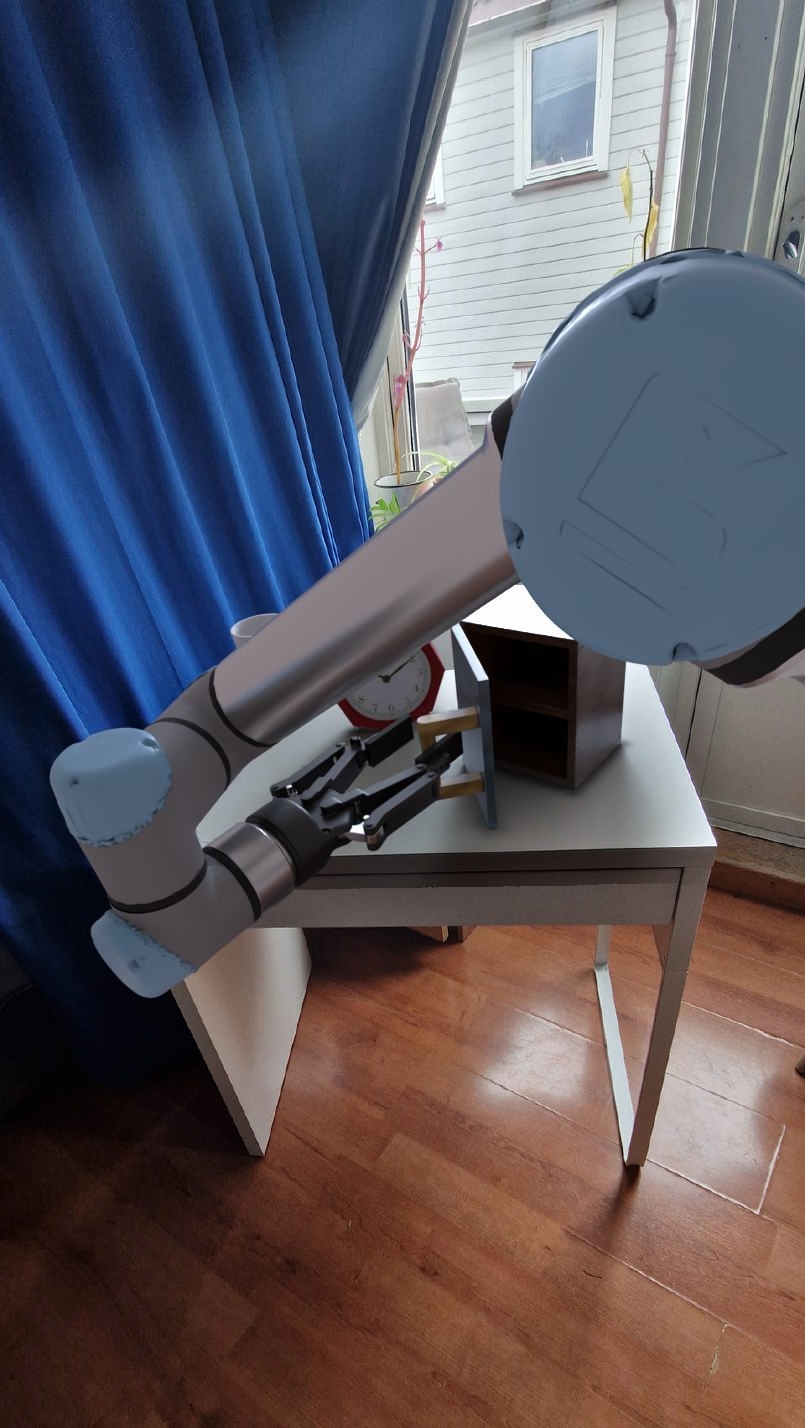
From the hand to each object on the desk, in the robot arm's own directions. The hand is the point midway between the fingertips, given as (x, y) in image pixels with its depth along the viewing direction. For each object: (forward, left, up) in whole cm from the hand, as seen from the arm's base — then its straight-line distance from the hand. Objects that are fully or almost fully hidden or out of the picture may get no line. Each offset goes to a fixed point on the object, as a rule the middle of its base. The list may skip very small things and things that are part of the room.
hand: (433, 733), depth 74 cm
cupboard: (-4, -15, -9) cm, 18 cm away
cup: (+36, -9, -9) cm, 39 cm away
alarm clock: (+18, -13, -9) cm, 24 cm away
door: (0, -2, -9) cm, 9 cm away
